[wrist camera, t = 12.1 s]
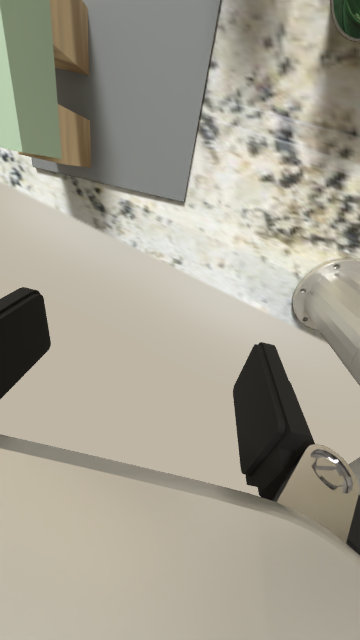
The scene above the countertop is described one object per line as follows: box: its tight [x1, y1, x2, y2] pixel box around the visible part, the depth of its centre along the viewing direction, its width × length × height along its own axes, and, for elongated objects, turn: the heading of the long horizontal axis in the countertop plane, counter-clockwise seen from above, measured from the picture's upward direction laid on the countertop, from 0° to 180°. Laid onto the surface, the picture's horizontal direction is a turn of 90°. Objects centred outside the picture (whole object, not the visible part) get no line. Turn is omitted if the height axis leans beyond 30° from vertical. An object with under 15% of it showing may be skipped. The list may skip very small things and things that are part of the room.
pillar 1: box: [50, 0, 89, 76], centre depth 21 cm, size 5×5×7 cm
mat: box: [32, 0, 221, 202], centre depth 24 cm, size 22×27×1 cm
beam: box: [0, 0, 62, 159], centre depth 18 cm, size 5×13×6 cm, turn 169°
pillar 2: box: [18, 104, 91, 168], centre depth 26 cm, size 5×5×7 cm
